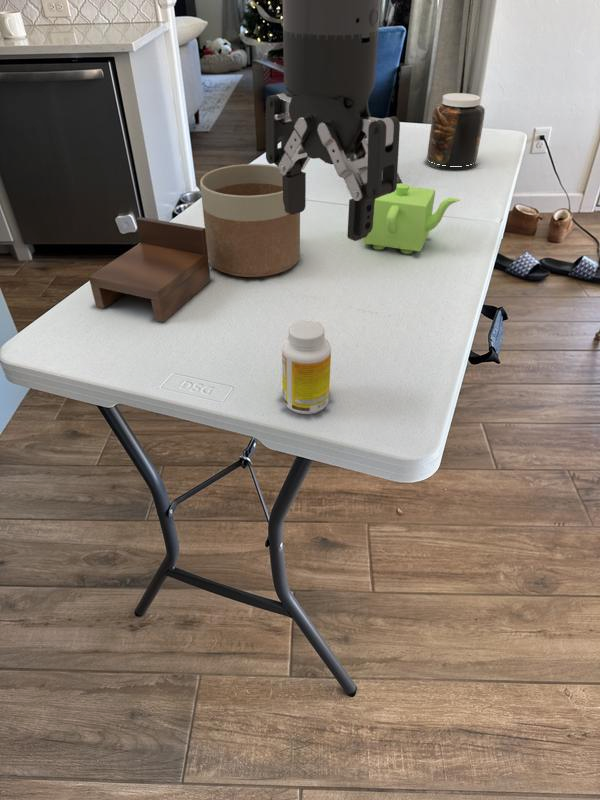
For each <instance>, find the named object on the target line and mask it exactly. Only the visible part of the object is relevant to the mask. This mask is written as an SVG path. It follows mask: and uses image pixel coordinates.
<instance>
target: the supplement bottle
mask: <svg viewBox="0 0 600 800" xmlns="http://www.w3.org/2000/svg"><path fill="white" fill-rule="evenodd" d="M325 329H326V328H325V327H324V325H323V324H321V323H320V322H319V321H315V320H312V319H311V320H310V319H301V320H298V321H294V322H292V324H291V325H289V327H288V335H287V336H288V337H287V338H286V339H285V340H284V341H283V343H282V345H281V371H282V372H281V373H282V374H281V375H282V378H281V379H282V400H283V403H284V405H285V406H286V407H287V408H288V409H289V410H290V411H292V412H294V413H298V414H302V415H311V414H315V413H319V412H321V411H322V410H324V409H325V408H326V406H327V405H328V403H329V401H330V391H331V390H330V389H331V363H332V361H331V360H332V345H331V343H330V341H329V340H328V339H327V338H326V336H325V331H326V330H325Z"/></svg>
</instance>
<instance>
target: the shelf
mask: <svg viewBox="0 0 600 800" xmlns="http://www.w3.org/2000/svg"><path fill="white" fill-rule="evenodd" d="M135 221H136V222H135V223H136V227H137V233H138V237H139V243H138V244H137V245H136V244H135V246H133V247H132V248H131V249H129V250H128V251H126V252H124V253H123V254H121V255H120V256H118V257H117V258H115V259H113V260H112V261H111V262H109V263H108V264H106V265H104V266H103V267H101V268H100V269H98V270H97V271H95V272H94V273H92V274H90V275H89V276H88V280H89V284H90V289H91V292H92V296H93V300H94V305H95V307H96V308H100V309H105V308H107V307H108V306H110V305H111V304H113V302H115V301H117V300H118V299H119V298H121V296H123V295H125V294H126V295H132V296H136V297H140V298H145V299H149V300H150V301H151V306H152V313H153V319H154V321H155V322H159V323H165V322H166V321H167V320H168V319H169V318H170V317H172V316H173V314H175V313H176V312H177V311H179V309H181V308H182V307H183V306H184V305H185V304H186V303H187V302H188V301H190V300H191V299H193V298H194V297H195V296H196V295H197V294H198V293H199V292H201V290H202V289H204V288H205V287H206V286H207V285H208V284H209V283H211V282H212V279H211V272H210V262H209V260H208V253H207V252H208V251H207V242H206V232H205V227H201V226H194V225H190V224H183V223H177V222H172V221H166V220H161V219H160V220H159V219H155V218H149V217H143V216H138V217H137V218H135Z"/></svg>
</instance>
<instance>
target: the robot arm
mask: <svg viewBox="0 0 600 800" xmlns="http://www.w3.org/2000/svg"><path fill="white" fill-rule="evenodd" d="M381 1H382V0H282V38H283V39H282V40H283V41H282V42H283V43H282V44H283V46H282V47H283V48H282V49H283V85H284V89H285V90H286V91H287V92H281V93H277V94H273V95H268V96H267V97H266V99H265V159H266V162H267V163H268V165H273V164H274V166H278V169H279V172H280V174H281V175H282V181H283V203H284V206H285V212H286V213H288V214H291V215H294V214H297V213H300V214H301V213H302V212H304V211H305V209H306V205H307V204H306V198H307V197H306V196H307V194H306V193H307V192H306V190H307V189H306V184H307V183H306V182H307V180H306V179H307V173H306V172H304V171H303V170H304V169H306V166H307V165H308V164H309V162H310V160H311V159H313V160H315V159H320V160H321V161H322V162H323V163H325V164H329V165H333V167H334V169H335V172H336V174H337V176H338V177H340V178H342V179H343V180H344V183H345V184H346V186H347V187H346V188H347V189H348V192H349V194H350V196H351V198H350V199H348V216H347V239H349V240H351V241H354V242H357V241H359V240H363V238H364V237H366V236H367V235H368V233H370V232H371V230H372V228H373V216H374V204H375V199H376V198H379V197H381V196H384V195H386V194H390V193H392V192H394V191H395V190H396V187H397V172H398V171H399V169H398V168H399V148H400V132H401V130H400V129H401V122H400V120H399V118H398V117H397V116H389V117H384V118H379V117H374V116H371V113H370V108H369V99H370V96H371V94H372V91H373V90H374V88H375V85H376V73H377V72H376V71H377V56H378V43H379V31H380V29H379V28H380V18H381V17H380V15H381ZM365 136H366V137H367V138H366V139H365V138H364V137H365ZM279 139H280V147H279ZM367 145H368V146H367ZM354 152H355V155H356V157H357V160H355V161H349V159H350V158H351V157H352V155H353V154H354ZM382 171H383V178H382ZM357 173H359V174H360V176H361V179H362V181H363V184H361V181H360V179H359V177H358V174H357Z"/></svg>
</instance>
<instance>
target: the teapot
mask: <svg viewBox="0 0 600 800" xmlns="http://www.w3.org/2000/svg"><path fill="white" fill-rule="evenodd" d="M345 187H346V188H348V187H347V185H346V186H345ZM435 195H436V189H433V188H425V187H417V186H410V185H409V184H408V183H403V182H402V183H399V184H397V187H396V190H395V191H394V192H392V193H390V194H386V195H384V196H381V197H379V198H376V199H375V204H374V216H373V228H372V230H371V232H370V233H368V235H367V236H366V237H364V238H362V244H366V245H373V246H372V248H373V249H375V250H379V251H380V250H385V248H393V249H400V253H402V254H406V255H410V254H412V253H413V252H421V251H422V248H423V246H424V245H425V242H426V240H427V238H428V236H429V235H430V232H431V231H433V230H434V229H435V228H436V227H437V226H438V225H439V224H440V222H441V221H442V219H443V217H444V215H445V212H446V211H447V209H448V208H449V206H451V205H453V204H454V203H457V202H460V201H461V199H460V198H455V197H450V198H445V199H443V200H442V202H440V204H439V206H438V208H437V210H436V211H435V212H434V213H433V209H434V203H435V197H436V196H435Z"/></svg>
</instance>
